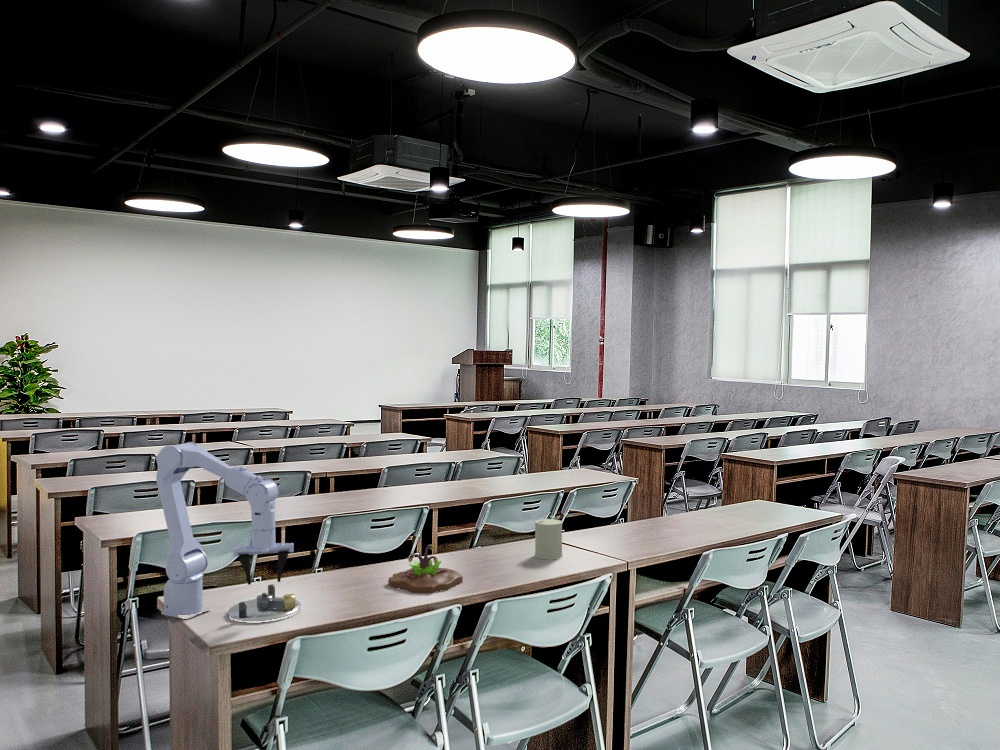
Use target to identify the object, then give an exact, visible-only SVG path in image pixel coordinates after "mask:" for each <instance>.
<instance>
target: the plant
mask: <svg viewBox="0 0 1000 750" xmlns="http://www.w3.org/2000/svg"><path fill="white" fill-rule="evenodd" d="M434 549H435V546H434V545H433V544H428V545H427V546H426V548H425V550H424V554H423V557H422V556H421V555H420V554H417V553H414V554H411V556H409V557H408V559H407V561H408V562H409V563H408V565H409V566H410V567H411V568H409V569H407V570H403V571H399V572H397V573H393V574H392V576H390V577H388V580H387V581H388V586H389V587H390V586H391V587H390V588H392V587H394V588H393V589H397V588H400V589H399V590H402V589H403V591H406V590H407V592H410V593H412V594H421V593H425V594H431V593H433V594H435V593H437V592H436V591H438V592H441V591H440V590H446V591H449V590H451V589H452V587H453V588H455V587H457V586H458V584H459V585H460V583H461V584H463V577H464V576H463V575H462V574H461V573H460V572H458V571H457V570H454V569H450V568H446V567H440V565H441V564H442V560H440V561H439V559H438V558H437V556H435V555H431V556H429V557H428V554H429V553H428V551H429V550H431V551H433V550H434ZM414 557H417V558H418V561H419V562H418V561H414V564H413V563H411V562H413V558H414ZM432 559H433V561H432ZM456 585H457V586H456ZM454 586H455V587H454ZM450 588H451V589H450ZM448 589H449V590H448ZM434 592H435V593H434Z"/></svg>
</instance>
